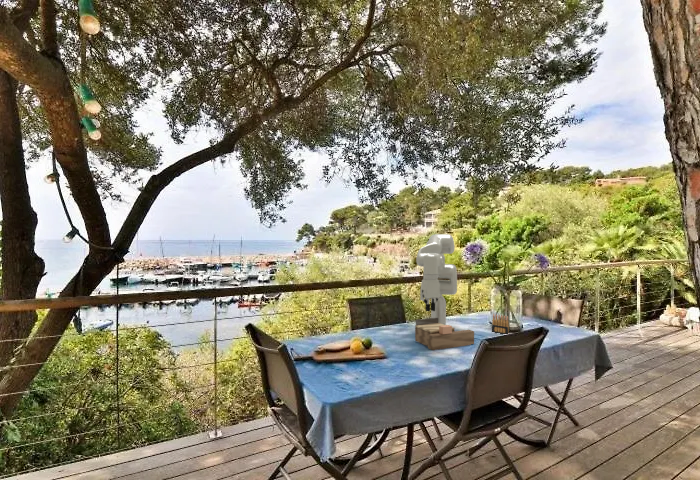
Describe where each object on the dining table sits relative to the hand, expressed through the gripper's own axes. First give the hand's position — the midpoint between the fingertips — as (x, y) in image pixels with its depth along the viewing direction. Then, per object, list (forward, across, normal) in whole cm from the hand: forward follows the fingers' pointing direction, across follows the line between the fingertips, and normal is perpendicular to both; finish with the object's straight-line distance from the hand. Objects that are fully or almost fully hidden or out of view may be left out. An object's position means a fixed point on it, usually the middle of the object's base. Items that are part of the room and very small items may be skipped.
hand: (430, 310), depth 237 cm
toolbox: (+21, -14, -8) cm, 27 cm away
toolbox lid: (+13, -10, -11) cm, 19 cm away
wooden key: (+13, -10, 0) cm, 17 cm away
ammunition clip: (+21, -59, -10) cm, 64 cm away
